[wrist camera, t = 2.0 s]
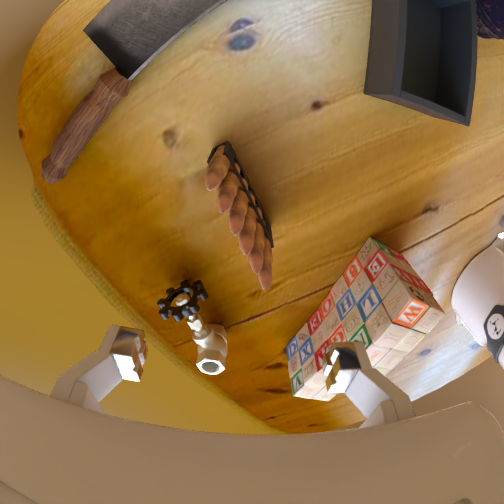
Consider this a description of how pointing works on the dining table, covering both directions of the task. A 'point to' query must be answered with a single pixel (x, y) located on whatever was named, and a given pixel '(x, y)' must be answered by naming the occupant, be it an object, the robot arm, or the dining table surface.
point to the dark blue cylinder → (490, 18)
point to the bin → (424, 56)
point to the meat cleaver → (121, 64)
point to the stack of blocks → (364, 318)
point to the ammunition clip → (241, 210)
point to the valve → (197, 325)
